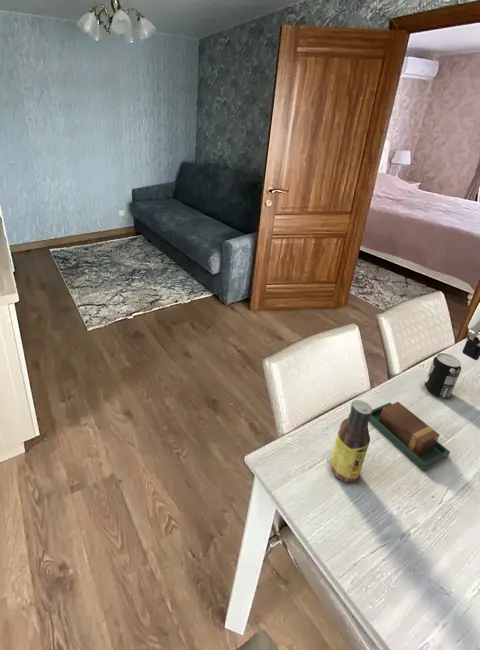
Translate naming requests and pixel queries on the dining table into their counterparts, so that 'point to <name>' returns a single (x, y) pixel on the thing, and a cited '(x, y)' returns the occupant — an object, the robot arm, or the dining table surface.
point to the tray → (421, 461)
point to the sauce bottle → (352, 443)
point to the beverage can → (443, 375)
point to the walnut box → (408, 428)
